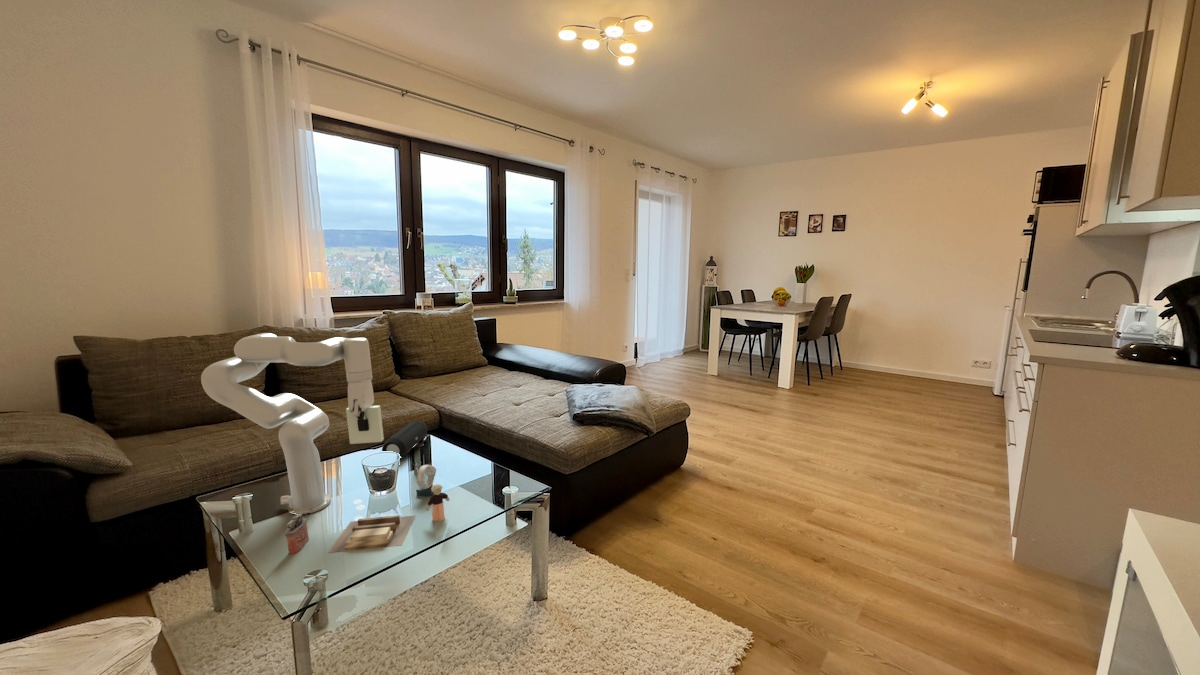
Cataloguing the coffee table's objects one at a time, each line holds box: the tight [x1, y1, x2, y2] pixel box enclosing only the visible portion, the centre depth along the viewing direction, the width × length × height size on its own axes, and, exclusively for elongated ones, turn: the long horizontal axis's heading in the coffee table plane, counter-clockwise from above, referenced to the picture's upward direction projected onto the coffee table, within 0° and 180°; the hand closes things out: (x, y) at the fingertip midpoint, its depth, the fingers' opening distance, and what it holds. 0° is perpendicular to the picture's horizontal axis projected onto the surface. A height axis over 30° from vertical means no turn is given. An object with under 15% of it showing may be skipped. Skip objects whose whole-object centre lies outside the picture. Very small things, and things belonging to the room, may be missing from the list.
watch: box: [416, 464, 437, 497], centre depth 163 cm, size 6×8×11 cm
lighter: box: [284, 514, 310, 555], centre depth 134 cm, size 8×3×10 cm, turn 5°
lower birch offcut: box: [345, 531, 393, 548], centre depth 136 cm, size 12×4×2 cm, turn 97°
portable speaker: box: [381, 420, 428, 458], centre depth 204 cm, size 26×10×10 cm, turn 177°
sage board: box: [345, 405, 385, 445], centre depth 155 cm, size 10×2×12 cm, turn 97°
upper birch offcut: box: [350, 527, 391, 542], centre depth 136 cm, size 10×4×2 cm, turn 97°
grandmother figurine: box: [425, 482, 450, 522], centre depth 146 cm, size 8×4×13 cm, turn 148°
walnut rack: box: [328, 514, 417, 554], centre depth 140 cm, size 20×16×4 cm
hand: (365, 428), depth 155 cm, fingers closed on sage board, 2 cm apart
